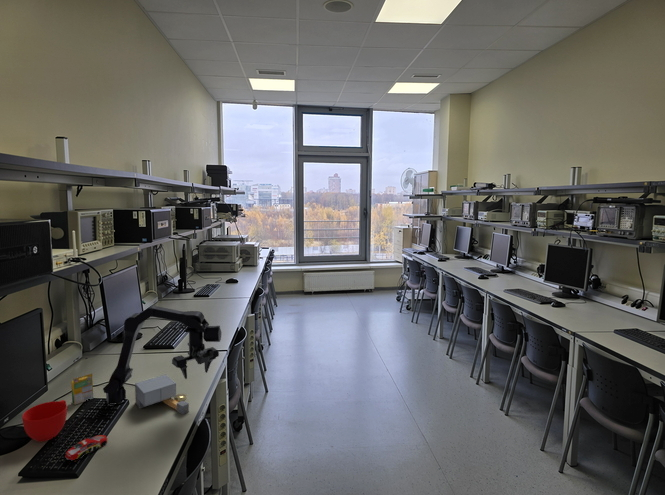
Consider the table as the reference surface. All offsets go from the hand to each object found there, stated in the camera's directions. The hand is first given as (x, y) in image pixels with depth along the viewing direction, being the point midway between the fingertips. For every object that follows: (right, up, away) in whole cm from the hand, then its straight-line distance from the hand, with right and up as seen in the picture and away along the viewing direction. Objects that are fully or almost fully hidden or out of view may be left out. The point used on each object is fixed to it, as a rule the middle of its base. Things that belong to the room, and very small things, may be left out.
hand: (196, 375), depth 165 cm
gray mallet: (-8, -12, -3) cm, 15 cm away
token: (-8, -12, +4) cm, 15 cm away
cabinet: (-17, -12, -1) cm, 21 cm away
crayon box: (-49, -11, -1) cm, 50 cm away
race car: (-26, -16, -32) cm, 45 cm away
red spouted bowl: (-46, -14, -24) cm, 53 cm away
